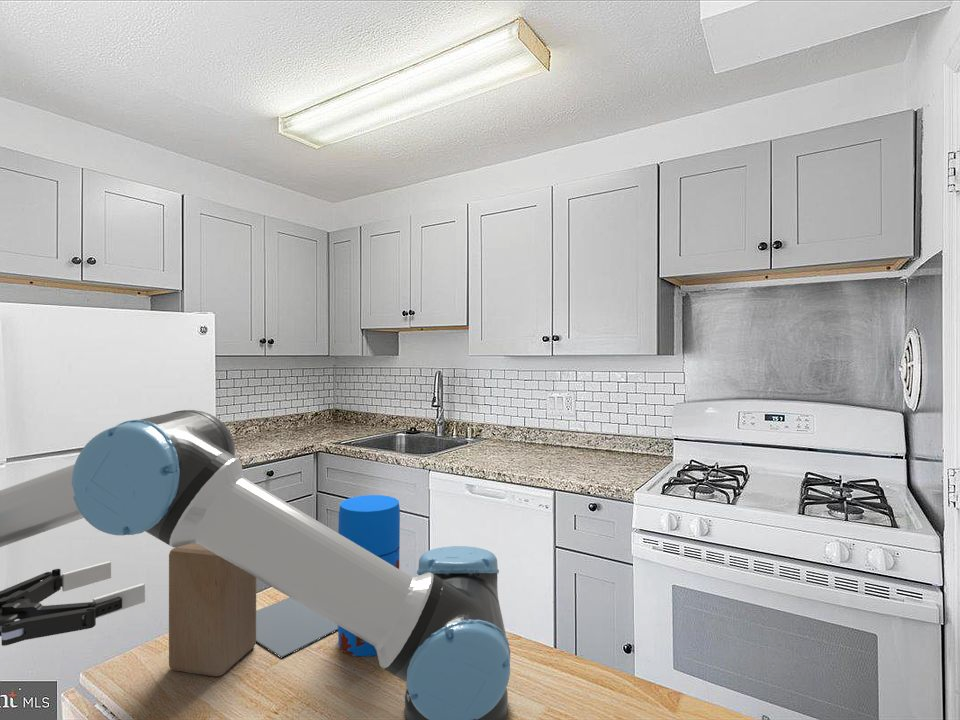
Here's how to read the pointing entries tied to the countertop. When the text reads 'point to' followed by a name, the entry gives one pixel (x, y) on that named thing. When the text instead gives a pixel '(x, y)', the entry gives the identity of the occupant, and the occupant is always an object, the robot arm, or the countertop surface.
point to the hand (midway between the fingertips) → (126, 580)
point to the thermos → (369, 545)
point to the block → (209, 611)
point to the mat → (290, 626)
